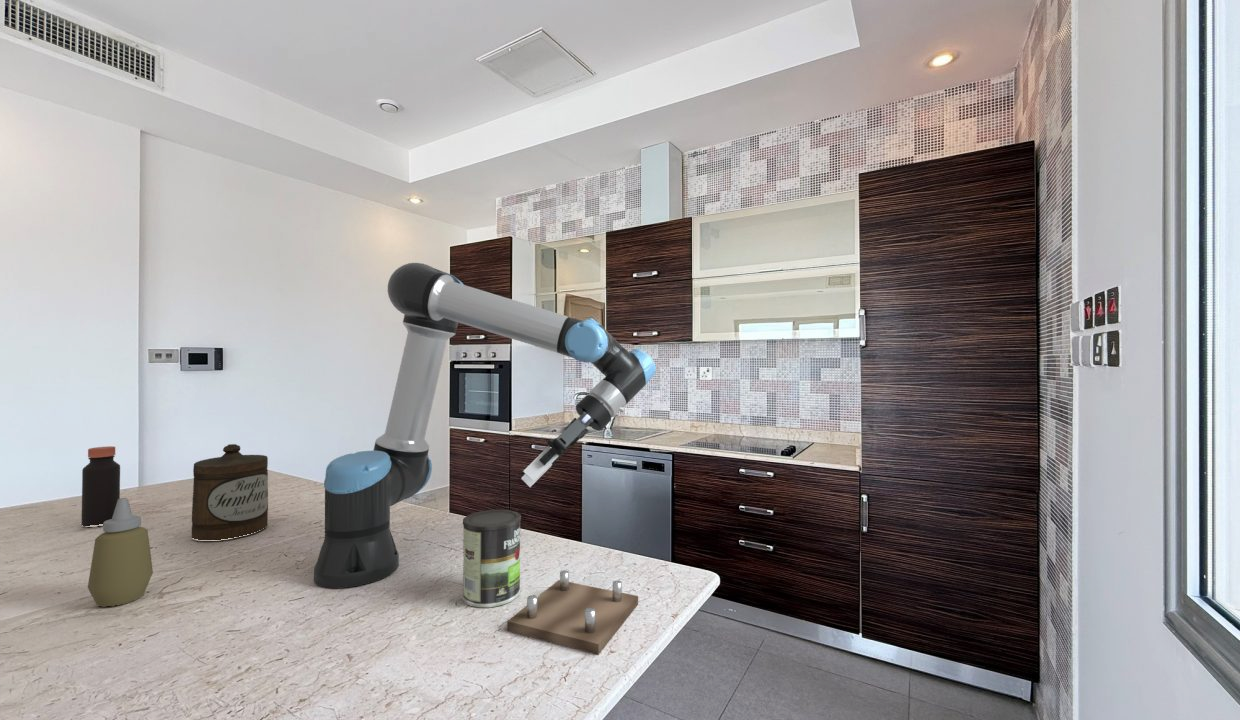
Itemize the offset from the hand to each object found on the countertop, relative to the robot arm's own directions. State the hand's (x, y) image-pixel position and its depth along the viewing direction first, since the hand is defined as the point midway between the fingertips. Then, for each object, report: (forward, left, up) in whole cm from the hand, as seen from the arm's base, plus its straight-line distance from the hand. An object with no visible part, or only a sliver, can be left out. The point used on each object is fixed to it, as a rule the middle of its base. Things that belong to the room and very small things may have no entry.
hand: (526, 480), depth 95 cm
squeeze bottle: (-61, -36, -20) cm, 74 cm away
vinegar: (-121, -17, -20) cm, 124 cm away
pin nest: (+16, -9, -19) cm, 26 cm away
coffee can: (-2, -8, -20) cm, 21 cm away
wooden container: (-83, -7, -20) cm, 86 cm away
